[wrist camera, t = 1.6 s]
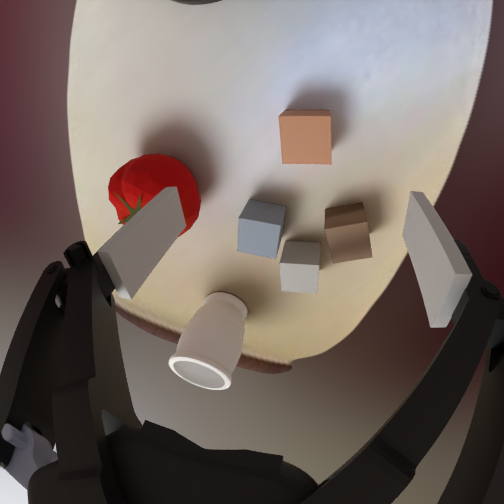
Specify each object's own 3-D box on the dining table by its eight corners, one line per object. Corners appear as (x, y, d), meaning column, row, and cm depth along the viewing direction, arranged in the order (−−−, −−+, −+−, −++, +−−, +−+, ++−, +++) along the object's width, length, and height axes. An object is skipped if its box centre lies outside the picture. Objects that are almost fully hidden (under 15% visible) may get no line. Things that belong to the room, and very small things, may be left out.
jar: (233, 331, 55) (211, 394, 43) (191, 304, 53) (159, 366, 41) (264, 309, 48) (243, 383, 37) (217, 277, 46) (182, 349, 35)
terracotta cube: (284, 110, 28) (278, 116, 24) (329, 110, 26) (330, 116, 23) (288, 150, 31) (282, 163, 27) (330, 151, 29) (331, 164, 26)
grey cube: (285, 240, 39) (279, 262, 35) (320, 242, 37) (319, 265, 33) (286, 267, 41) (281, 291, 38) (319, 269, 40) (317, 293, 36)
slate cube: (249, 199, 36) (238, 217, 32) (286, 205, 35) (280, 225, 31) (247, 230, 39) (237, 251, 35) (281, 236, 38) (275, 258, 34)
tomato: (149, 127, 32) (100, 152, 24) (226, 174, 34) (194, 212, 26) (128, 188, 39) (87, 222, 31) (193, 230, 41) (162, 274, 33)
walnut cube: (325, 208, 34) (324, 229, 30) (362, 201, 32) (367, 221, 28) (333, 240, 37) (332, 263, 33) (368, 234, 35) (372, 257, 31)
